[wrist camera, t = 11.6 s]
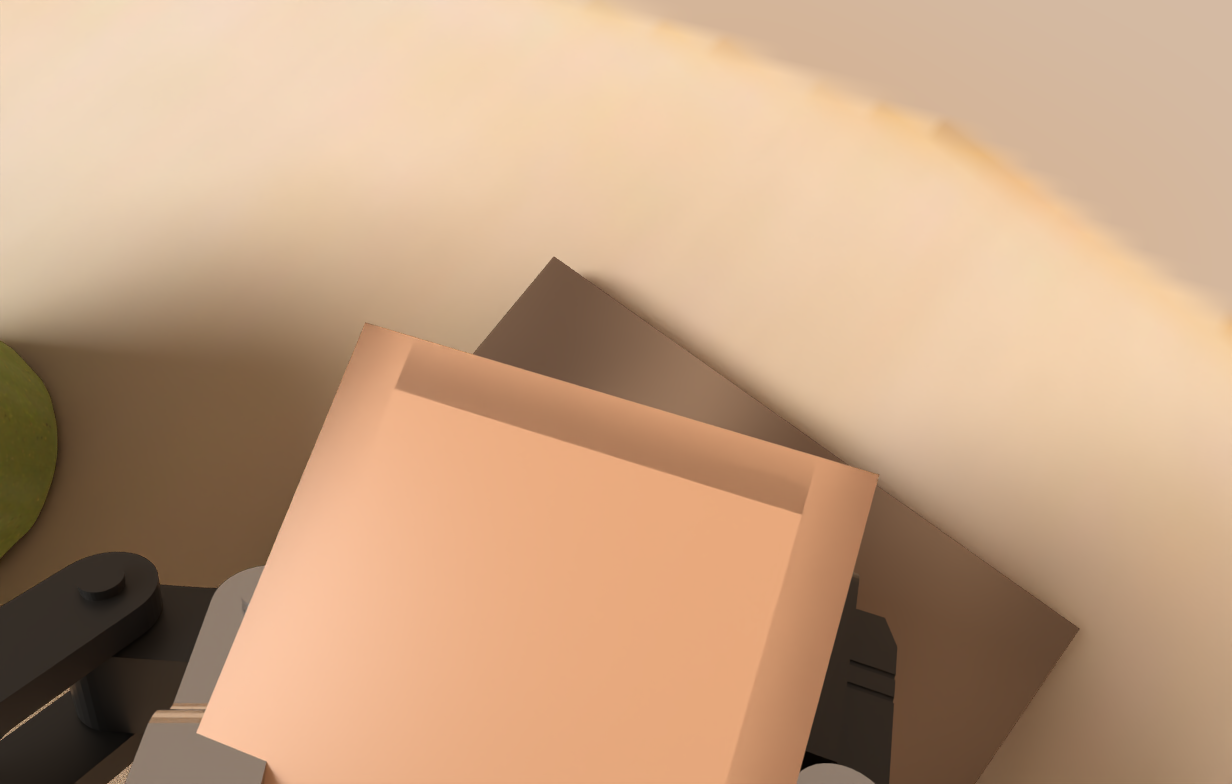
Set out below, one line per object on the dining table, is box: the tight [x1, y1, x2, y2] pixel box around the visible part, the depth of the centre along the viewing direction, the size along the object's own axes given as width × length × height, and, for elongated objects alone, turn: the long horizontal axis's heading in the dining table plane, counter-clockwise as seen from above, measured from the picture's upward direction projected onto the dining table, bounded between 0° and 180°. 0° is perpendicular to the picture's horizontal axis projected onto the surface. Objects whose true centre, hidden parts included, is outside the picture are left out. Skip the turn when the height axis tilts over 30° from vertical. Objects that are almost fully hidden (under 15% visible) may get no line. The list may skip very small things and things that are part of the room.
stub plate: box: [473, 257, 1079, 784], centre depth 18 cm, size 14×12×6 cm
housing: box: [196, 323, 879, 784], centre depth 13 cm, size 6×6×10 cm
